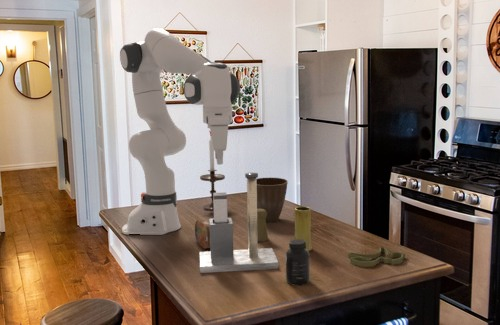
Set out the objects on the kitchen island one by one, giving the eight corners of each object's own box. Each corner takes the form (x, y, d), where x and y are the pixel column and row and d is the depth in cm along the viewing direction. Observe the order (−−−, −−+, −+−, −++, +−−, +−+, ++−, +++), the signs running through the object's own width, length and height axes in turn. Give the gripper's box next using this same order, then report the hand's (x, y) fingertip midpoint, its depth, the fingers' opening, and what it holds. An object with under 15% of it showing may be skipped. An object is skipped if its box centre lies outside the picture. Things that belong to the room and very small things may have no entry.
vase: (313, 247, 191) (313, 206, 189) (309, 252, 186) (309, 211, 183) (296, 245, 193) (296, 205, 191) (291, 251, 188) (291, 210, 185)
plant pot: (295, 220, 225) (295, 181, 223) (265, 226, 217) (264, 186, 214) (273, 212, 237) (272, 176, 235) (244, 218, 229) (243, 180, 227)
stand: (200, 272, 170) (196, 180, 165) (199, 257, 183) (196, 171, 178) (278, 268, 172) (277, 177, 167) (272, 253, 186) (270, 168, 181)
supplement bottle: (284, 277, 165) (284, 238, 163) (307, 276, 165) (307, 237, 163) (287, 286, 158) (287, 245, 156) (311, 285, 158) (311, 244, 156)
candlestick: (196, 208, 248) (193, 130, 242) (215, 203, 255) (212, 127, 249) (211, 212, 240) (209, 131, 234) (230, 207, 247) (228, 129, 242)
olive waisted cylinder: (266, 241, 199) (266, 211, 197) (250, 241, 200) (249, 211, 198) (269, 236, 204) (269, 207, 203) (253, 236, 206) (252, 207, 204)
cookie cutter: (387, 251, 187) (387, 245, 187) (411, 262, 176) (411, 256, 176) (341, 259, 180) (341, 253, 179) (363, 271, 169) (363, 265, 169)
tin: (194, 240, 203) (193, 217, 201) (202, 238, 204) (202, 216, 202) (207, 252, 189) (206, 228, 187) (215, 250, 190) (215, 227, 188)
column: (215, 258, 174) (213, 195, 171) (214, 254, 179) (212, 192, 175) (228, 258, 175) (227, 195, 171) (228, 253, 179) (226, 192, 176)
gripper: (206, 114, 179) (207, 156, 181) (208, 119, 159) (209, 167, 161) (226, 113, 180) (227, 156, 182) (230, 119, 160) (231, 166, 162)
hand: (219, 161), depth 172 cm, fingers open, 8 cm apart
